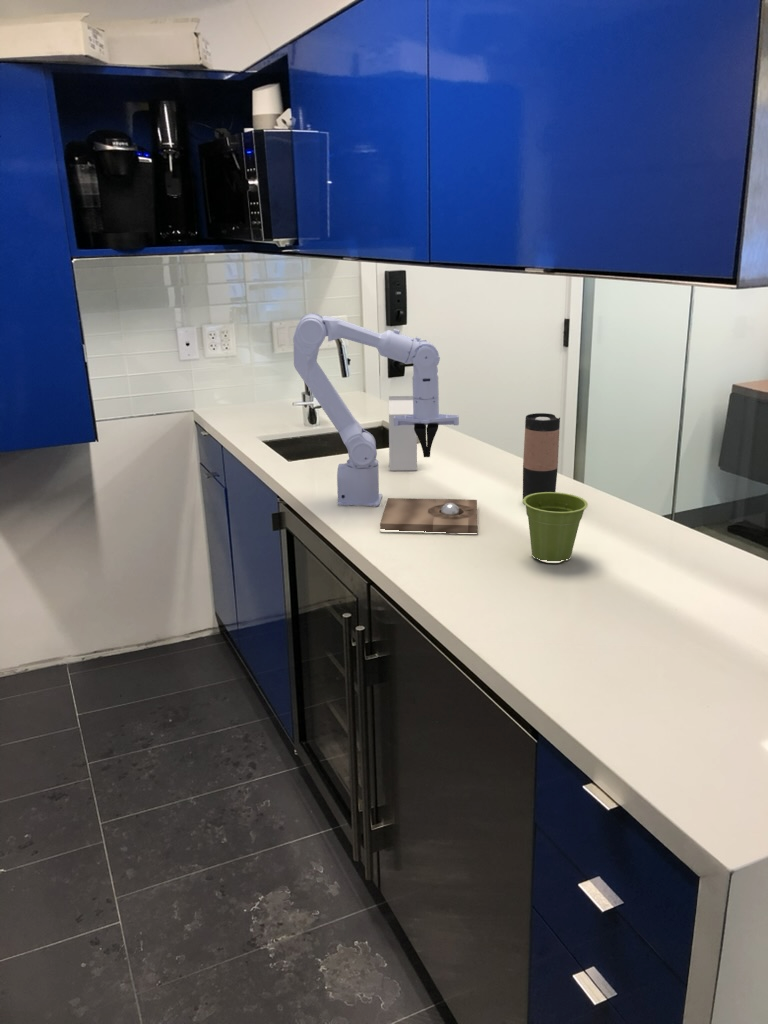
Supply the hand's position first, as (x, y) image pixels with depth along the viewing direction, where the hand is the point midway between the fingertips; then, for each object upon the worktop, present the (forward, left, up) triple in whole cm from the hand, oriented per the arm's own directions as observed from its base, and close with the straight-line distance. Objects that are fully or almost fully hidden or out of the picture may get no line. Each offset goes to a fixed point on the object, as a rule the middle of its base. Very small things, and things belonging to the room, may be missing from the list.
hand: (426, 456), depth 189 cm
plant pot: (+25, -34, -11) cm, 44 cm away
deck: (+1, -14, -10) cm, 17 cm away
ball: (+6, -14, -8) cm, 18 cm away
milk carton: (-8, +27, -11) cm, 30 cm away
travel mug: (+25, -1, -11) cm, 28 cm away
